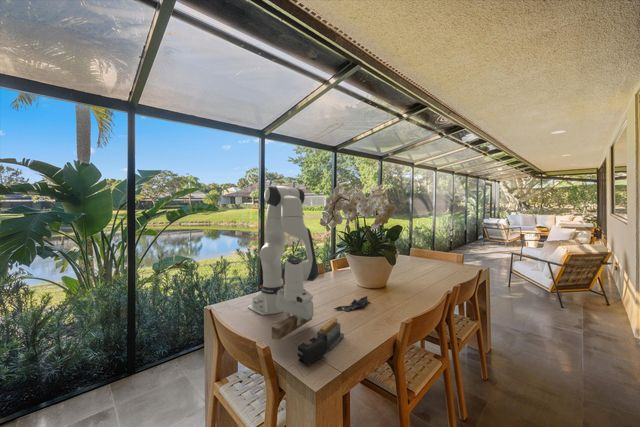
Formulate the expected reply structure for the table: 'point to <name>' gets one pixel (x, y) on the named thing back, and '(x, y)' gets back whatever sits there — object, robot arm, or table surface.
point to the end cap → (311, 350)
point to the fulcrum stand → (330, 333)
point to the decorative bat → (354, 304)
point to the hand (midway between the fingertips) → (293, 323)
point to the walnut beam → (286, 327)
